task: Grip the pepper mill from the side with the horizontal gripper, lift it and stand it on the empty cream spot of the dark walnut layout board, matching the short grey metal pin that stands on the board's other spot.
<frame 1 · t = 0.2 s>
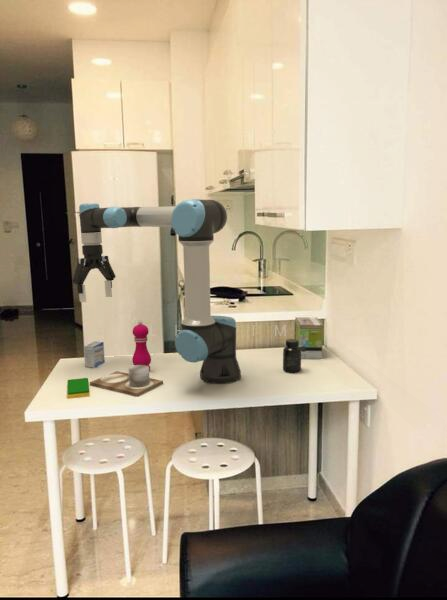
hand: (96, 299, 197), 27 cm above the table, tool pointing down, fingers open, 13 cm apart
pepper mill: (142, 371, 196), on the table
tea box: (307, 354, 217), on the table
medicine box: (95, 365, 204), on the table
layout board: (126, 384, 181), on the table
dish sponge: (78, 392, 176), on the table
supplement bottle: (291, 371, 195), on the table
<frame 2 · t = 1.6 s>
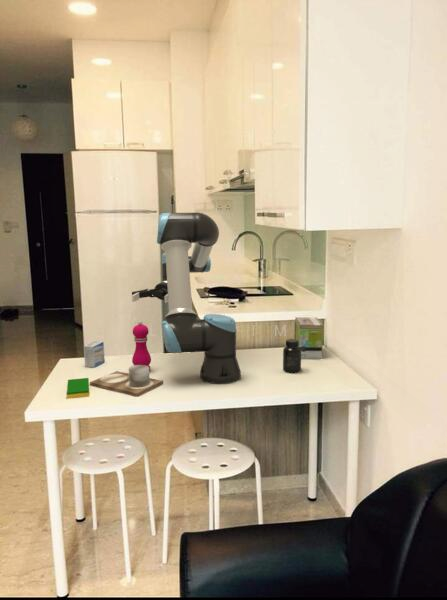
hand: (149, 299, 203), 26 cm above the table, tool horizontal, fingers open, 13 cm apart
nothing on the table moved.
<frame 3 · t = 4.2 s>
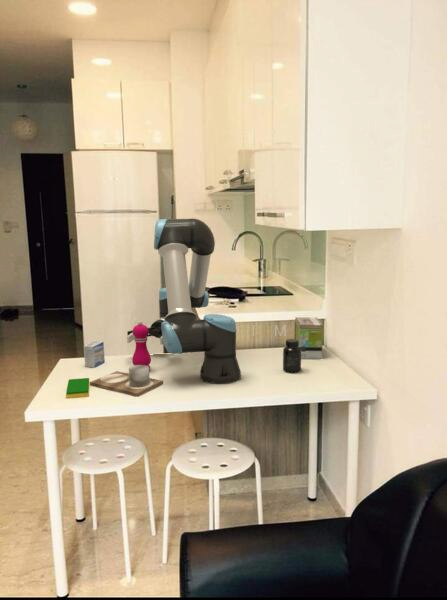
hand: (144, 340, 198), 11 cm above the table, tool horizontal, fingers open, 13 cm apart
nothing on the table moved.
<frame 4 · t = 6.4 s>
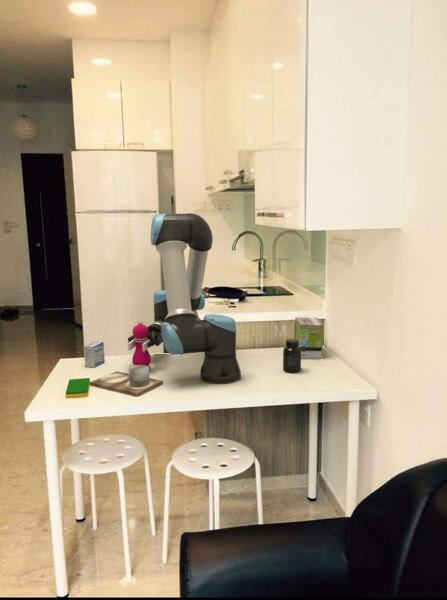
hand: (136, 347, 189), 11 cm above the table, tool horizontal, fingers closed on pepper mill, 5 cm apart
pepper mill: (142, 371, 196), on the table, touching gripper
everything else where it was.
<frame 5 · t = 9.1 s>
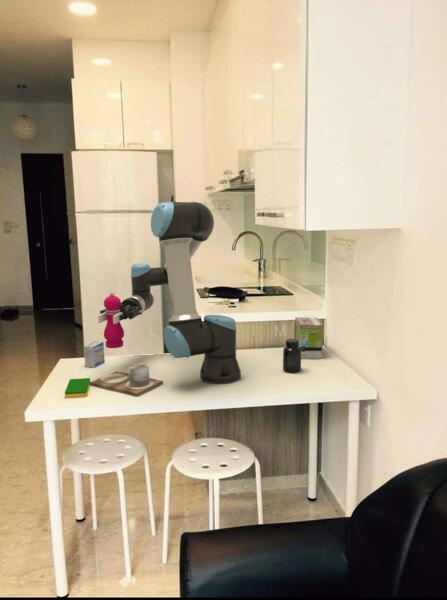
hand: (106, 319, 177), 24 cm above the table, tool horizontal, fingers closed on pepper mill, 5 cm apart
pepper mill: (114, 346, 184), point 13 cm above the table, touching gripper
everything else where it was.
when the fingers open (13 cm above the table, at t = 12.0 s): pepper mill drops 1 cm, resting on layout board.
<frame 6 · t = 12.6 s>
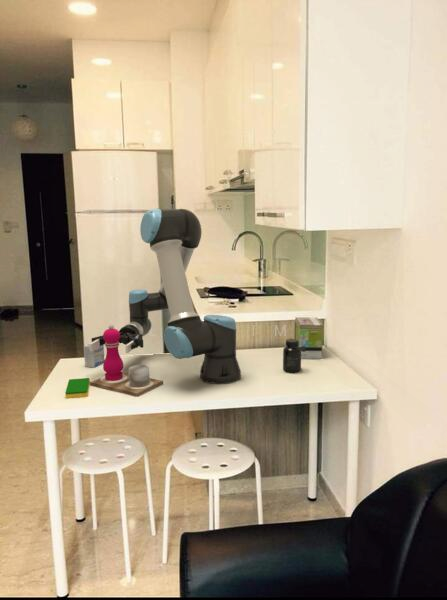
hand: (108, 348, 178), 13 cm above the table, tool horizontal, fingers open, 13 cm apart
pepper mill: (114, 378, 184), point 1 cm above the table, touching layout board
everything else where it was.
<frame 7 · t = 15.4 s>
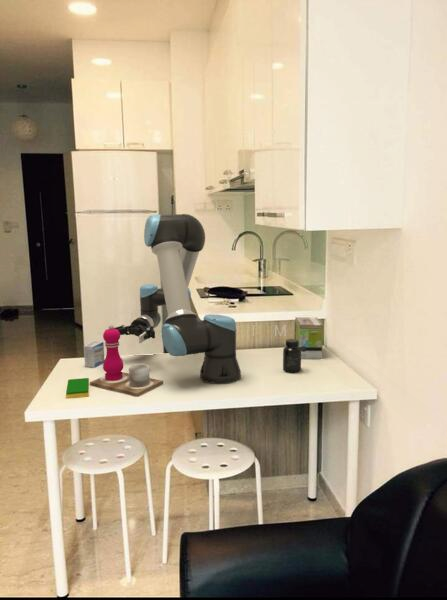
hand: (122, 339, 191), 14 cm above the table, tool horizontal, fingers open, 13 cm apart
nothing on the table moved.
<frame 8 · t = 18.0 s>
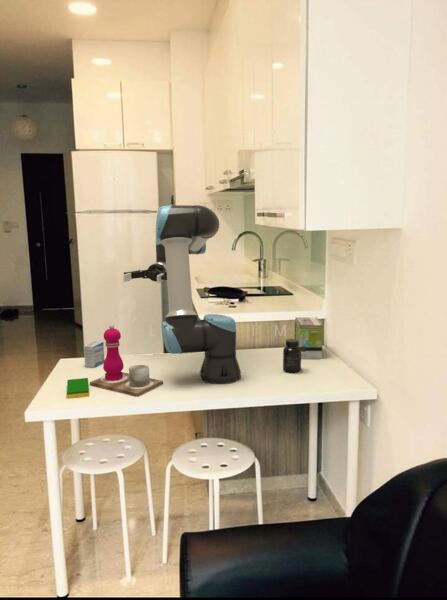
hand: (140, 278, 196), 35 cm above the table, tool horizontal, fingers open, 13 cm apart
nothing on the table moved.
at the end: pepper mill 0.1 cm from the target spot on the layout board, point 1.2 cm above the layout board's base; pepper mill tilted 0°; the gripper is holding nothing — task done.
